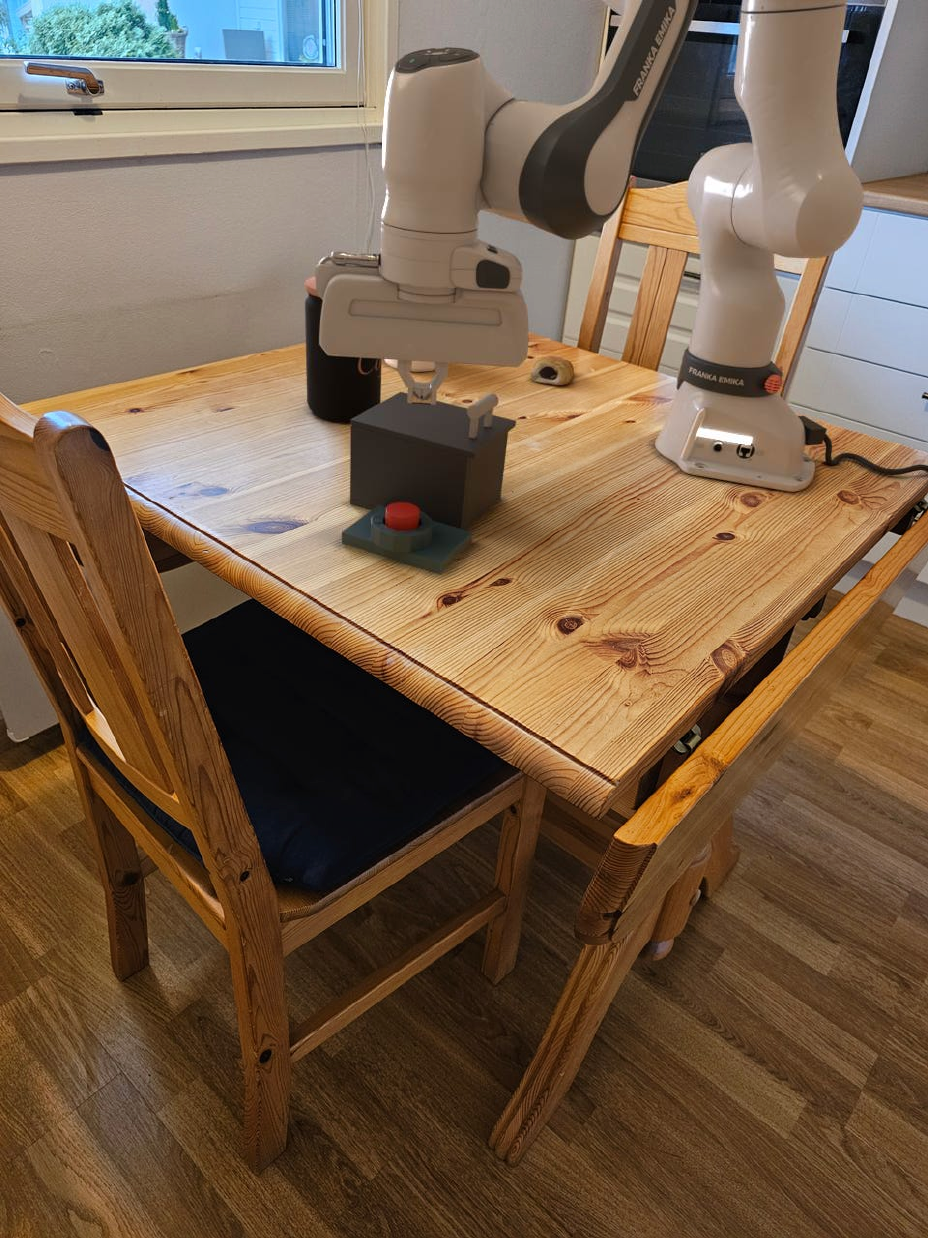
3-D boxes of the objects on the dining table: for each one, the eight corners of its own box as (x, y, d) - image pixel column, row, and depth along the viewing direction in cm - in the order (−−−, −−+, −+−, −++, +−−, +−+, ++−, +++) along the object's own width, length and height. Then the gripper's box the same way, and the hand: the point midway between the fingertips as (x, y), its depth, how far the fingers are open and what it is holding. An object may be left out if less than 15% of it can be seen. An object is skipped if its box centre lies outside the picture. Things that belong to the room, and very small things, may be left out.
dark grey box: (500, 500, 105) (509, 424, 100) (460, 537, 96) (467, 457, 91) (397, 470, 110) (400, 397, 104) (349, 504, 101) (350, 425, 95)
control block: (471, 544, 95) (474, 516, 93) (436, 578, 89) (438, 549, 87) (378, 515, 99) (379, 488, 97) (337, 546, 92) (337, 518, 90)
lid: (515, 426, 99) (520, 388, 97) (474, 459, 91) (478, 418, 88) (400, 396, 104) (401, 360, 102) (350, 425, 95) (350, 386, 93)
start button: (424, 522, 92) (425, 507, 91) (408, 535, 89) (409, 520, 88) (395, 513, 93) (396, 498, 92) (378, 526, 90) (379, 511, 89)
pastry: (544, 366, 151) (547, 345, 149) (580, 374, 150) (584, 352, 147) (527, 381, 144) (530, 358, 142) (565, 389, 142) (569, 367, 140)
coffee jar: (368, 429, 121) (370, 297, 111) (296, 418, 122) (292, 287, 112) (388, 404, 129) (392, 280, 119) (321, 394, 131) (319, 270, 121)
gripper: (310, 256, 75) (314, 407, 83) (539, 273, 77) (522, 419, 84) (318, 242, 81) (322, 385, 88) (532, 258, 82) (517, 397, 90)
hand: (421, 402), depth 86 cm, fingers closed
